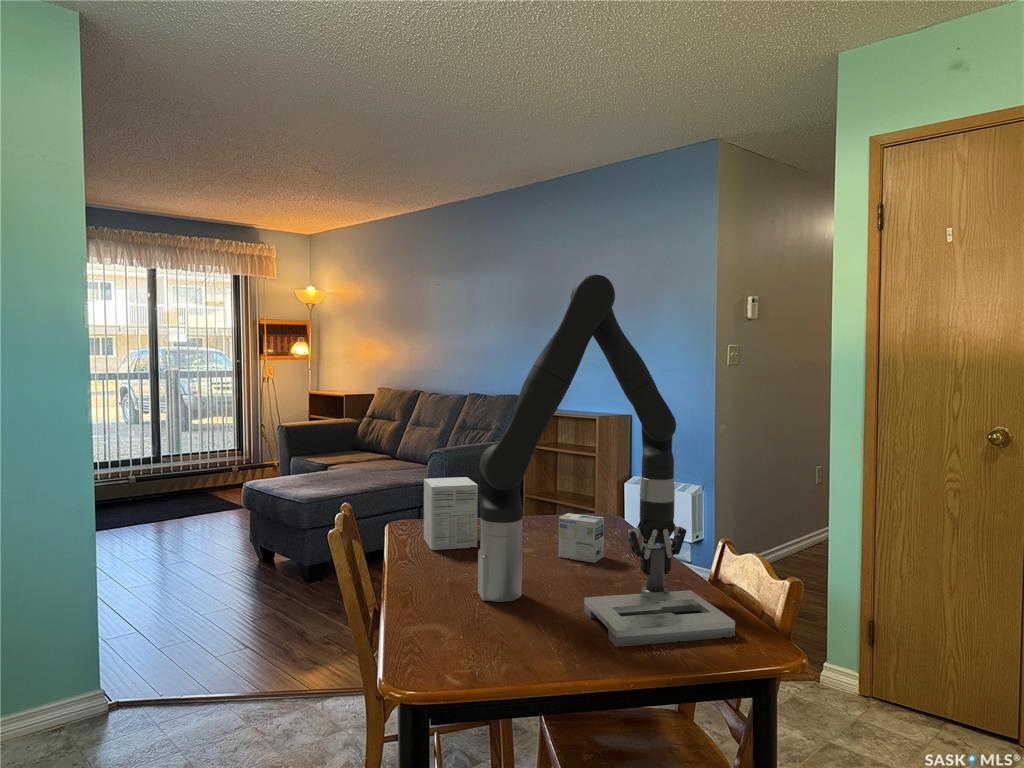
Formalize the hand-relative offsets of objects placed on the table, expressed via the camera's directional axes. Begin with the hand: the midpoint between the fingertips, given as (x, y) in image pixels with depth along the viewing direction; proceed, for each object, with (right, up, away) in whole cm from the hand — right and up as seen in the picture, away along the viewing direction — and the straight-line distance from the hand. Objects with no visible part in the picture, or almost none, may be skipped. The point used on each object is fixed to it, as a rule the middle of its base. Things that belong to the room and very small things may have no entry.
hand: (655, 573), depth 157 cm
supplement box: (-50, -3, +41) cm, 64 cm away
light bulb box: (-14, -4, +29) cm, 32 cm away
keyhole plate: (-3, -5, -17) cm, 18 cm away
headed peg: (0, -5, 0) cm, 5 cm away
